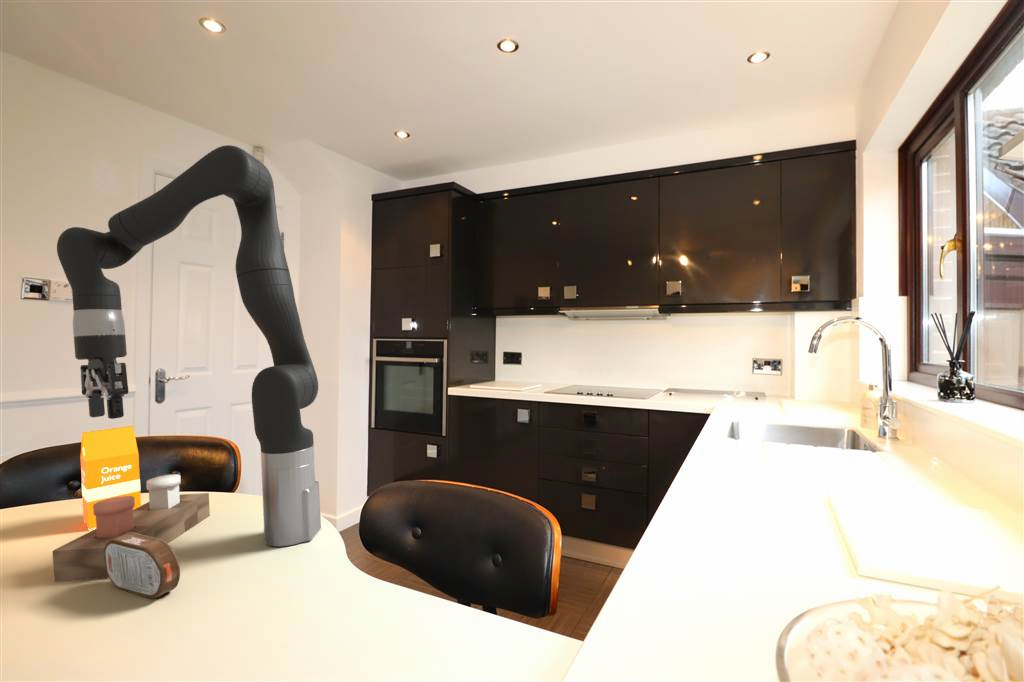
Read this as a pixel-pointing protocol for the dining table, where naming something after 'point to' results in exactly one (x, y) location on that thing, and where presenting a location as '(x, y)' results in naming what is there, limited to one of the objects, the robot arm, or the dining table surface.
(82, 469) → the orange juice
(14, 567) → the dining table surface
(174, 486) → the white rounded piece
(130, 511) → the brick plunger
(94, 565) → the block
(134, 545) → the tin
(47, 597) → the dining table surface
